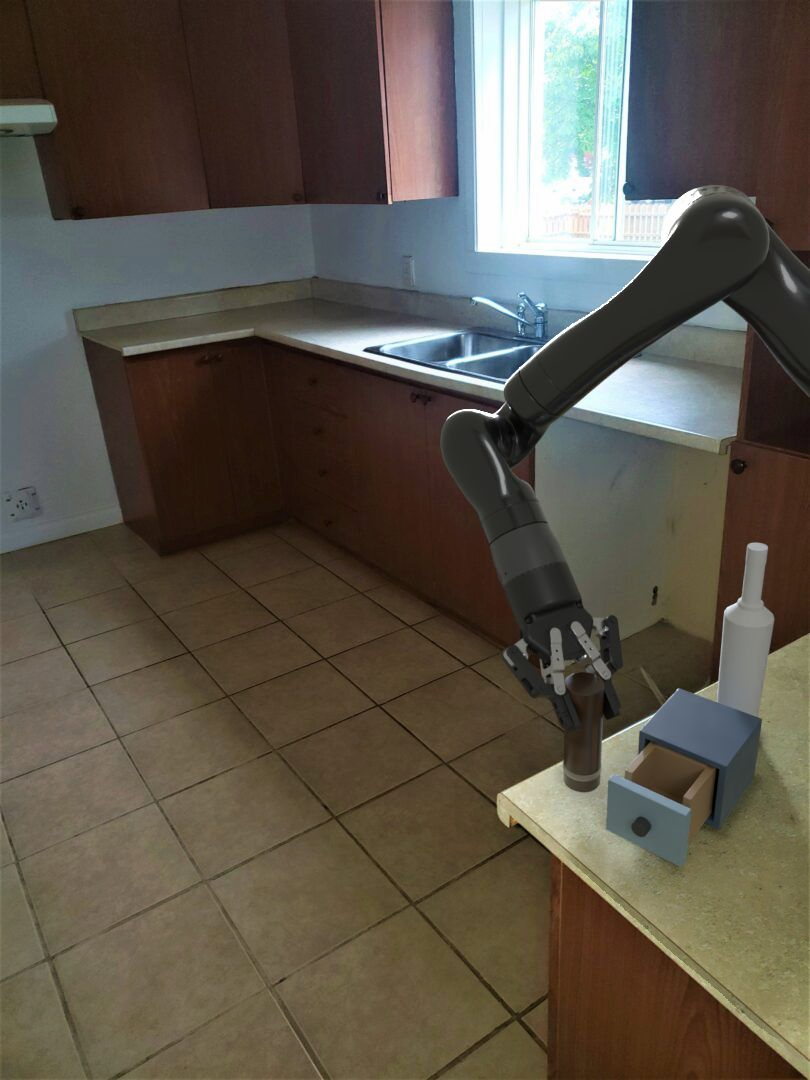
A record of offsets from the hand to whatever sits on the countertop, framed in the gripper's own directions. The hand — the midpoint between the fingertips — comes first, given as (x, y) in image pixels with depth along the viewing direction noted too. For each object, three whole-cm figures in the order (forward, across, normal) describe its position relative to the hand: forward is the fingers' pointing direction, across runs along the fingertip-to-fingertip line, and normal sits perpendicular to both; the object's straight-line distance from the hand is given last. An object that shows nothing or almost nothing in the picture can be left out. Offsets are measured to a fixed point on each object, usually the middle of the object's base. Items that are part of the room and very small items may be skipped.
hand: (594, 723), depth 84 cm
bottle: (+6, +22, +9) cm, 24 cm away
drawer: (+12, +4, +2) cm, 13 cm away
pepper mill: (+5, 0, +8) cm, 9 cm away
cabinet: (+10, +12, +6) cm, 16 cm away
